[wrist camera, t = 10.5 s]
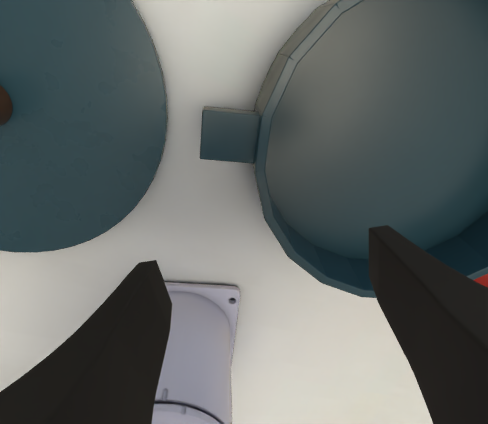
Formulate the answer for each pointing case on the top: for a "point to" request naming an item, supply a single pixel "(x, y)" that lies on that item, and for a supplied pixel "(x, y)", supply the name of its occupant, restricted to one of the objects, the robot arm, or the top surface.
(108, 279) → the top surface
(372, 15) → the pot
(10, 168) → the lid
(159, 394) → the robot arm
